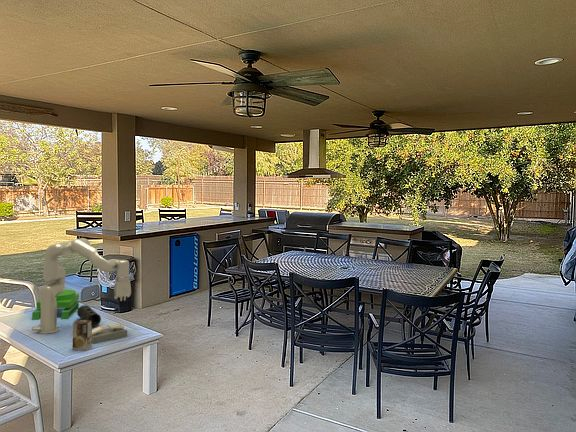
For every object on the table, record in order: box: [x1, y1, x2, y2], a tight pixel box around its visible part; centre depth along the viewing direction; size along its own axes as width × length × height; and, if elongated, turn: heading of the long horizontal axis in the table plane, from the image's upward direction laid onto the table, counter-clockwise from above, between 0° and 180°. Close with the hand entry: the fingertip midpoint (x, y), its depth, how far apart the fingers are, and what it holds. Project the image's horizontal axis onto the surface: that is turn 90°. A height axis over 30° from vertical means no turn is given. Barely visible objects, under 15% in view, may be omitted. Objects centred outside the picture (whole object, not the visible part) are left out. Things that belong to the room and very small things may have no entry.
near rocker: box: [92, 324, 107, 335], centre depth 274 cm, size 9×5×1 cm, turn 138°
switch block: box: [92, 327, 128, 345], centre depth 278 cm, size 22×12×5 cm, turn 138°
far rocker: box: [106, 323, 125, 329], centre depth 283 cm, size 9×5×1 cm, turn 138°
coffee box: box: [72, 319, 93, 351], centre depth 258 cm, size 9×6×16 cm
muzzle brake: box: [76, 304, 102, 329], centre depth 308 cm, size 10×28×10 cm, turn 39°
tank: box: [31, 289, 80, 321], centre depth 324 cm, size 24×35×16 cm
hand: (121, 306), depth 285 cm, fingers closed
